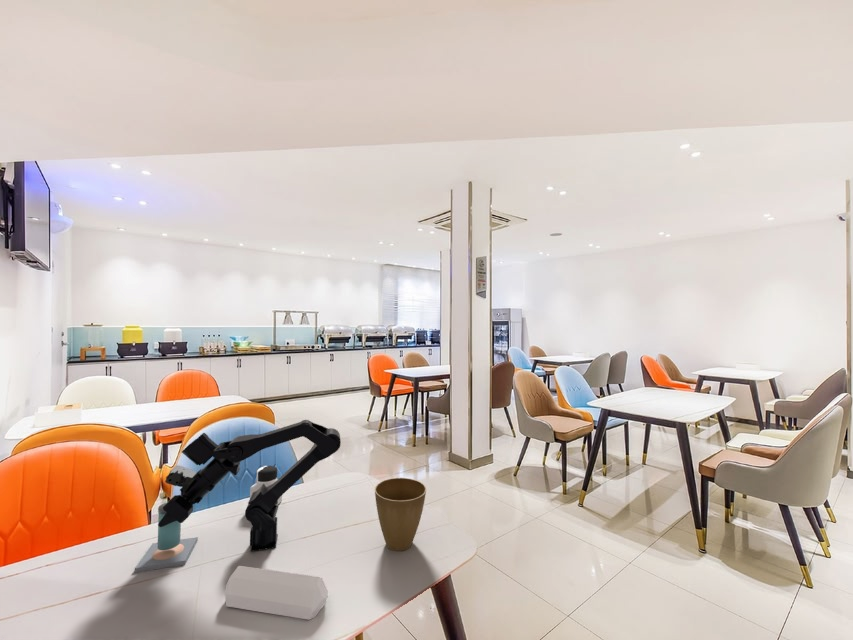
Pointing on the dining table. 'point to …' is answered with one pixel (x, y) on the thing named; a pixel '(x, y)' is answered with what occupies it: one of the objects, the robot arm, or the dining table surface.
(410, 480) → the plant pot
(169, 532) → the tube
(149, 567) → the card
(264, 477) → the container
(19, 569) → the dining table surface
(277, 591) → the white hexagonal prism
